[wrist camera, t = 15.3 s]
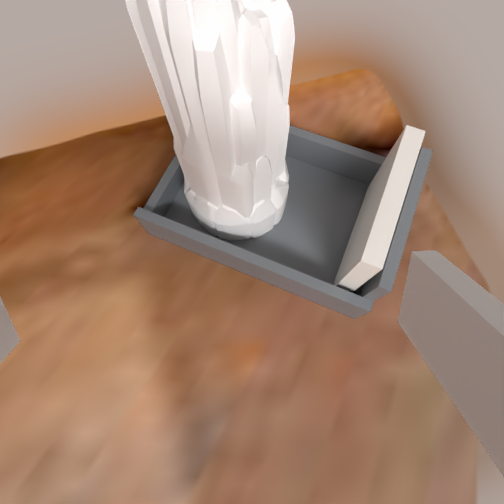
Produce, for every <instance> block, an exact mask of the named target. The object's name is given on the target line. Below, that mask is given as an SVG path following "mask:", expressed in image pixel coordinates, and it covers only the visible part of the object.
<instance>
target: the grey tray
mask: <svg viewBox="0 0 504 504" xmlns="http://www.w3.org/2000/svg"><path fill="white" fill-rule="evenodd" d="M432 153H433V150H430V149H427V148H424V147H422V148H421V149H420V150H419V154H418V157H417V160H416V163H415V166H414V170H413V173H412V176H411V179H410V182H409V186H408V189H407V192H406V195H405V198H404V202H403V205H402V208H401V211H400V214H399V218H398V221H397V224H396V227H395V230H394V234H393V237H392V240H391V243H390V246H389V250H388V253H387V256H386V259H385V262H384V266H383V269H382V270H381V271H379V272H378V273H377V274H376V275H374V276H373V277H372V278H370V279H369V280H368V281H366V282H365V283H364V284H362V285H361V286H360V287H359V288H357V289H356V290H355V291H353V292H349V291H347V290H344V289H342V288H339V287H337V286H334V285H333V284H334V281H335V278H336V275H337V272H338V270H339V267H340V264H341V261H342V258H343V256H344V253H345V250H346V247H347V245H348V242H349V239H350V236H351V233H352V231H353V228H354V225H355V222H356V219H357V217H358V214H359V211H360V208H361V205H362V203H363V200H364V197H365V194H366V191H367V189H368V186H369V185H370V183H371V181H372V180H373V178H374V177H375V175H376V173H377V172H378V170H379V169H380V167H381V165H382V164H383V162H384V161H385V159H386V157H383V156H380V155H377V154H374V153H371V152H368V151H365V150H362V149H359V148H356V147H353V146H350V145H347V144H344V143H341V142H338V141H335V140H332V139H329V138H326V137H323V136H320V135H317V134H314V133H311V132H308V131H306V130H303V129H300V128H297V127H294V126H291V125H290V126H289V133H288V141H287V148H286V156H285V160H286V164H287V169H288V174H289V181H288V184H289V189H288V195H287V201H286V206H285V209H284V212H283V215H282V218H281V220H280V221H279V223H278V224H275V225H274V226H273V229H271V230H270V231H268V232H266V233H265V234H263V235H261V236H259V237H256V238H252V237H251V238H250V239H244V240H227V239H220V238H219V237H218V236H214V235H213V234H211V233H210V232H209V231H207V230H206V229H205V228H203V227H202V226H201V225H200V224H199V222H198V221H197V219H196V218H195V216H194V215H193V213H192V210H191V208H190V206H189V203H188V201H187V199H186V196H185V193H184V174H183V171H182V169H181V166H180V163H179V161H178V158H177V155H175V156H174V158H173V160H172V161H171V163H170V165H169V166H168V168H167V170H166V171H165V173H164V175H163V176H162V178H161V180H160V181H159V183H158V185H157V186H156V188H155V190H154V191H153V193H152V195H151V196H150V198H149V200H148V201H147V203H146V205H145V206H144V208H140V207H138V208H137V210H136V211H135V213H134V217H135V218H136V219H137V220H138V221H139V223H140V224H141V225H142V226H143V228H144V229H145V230H146V231H147V232H148V234H150V235H153V236H155V237H158V238H160V239H162V240H165V241H167V242H170V243H172V244H175V245H177V246H179V247H182V248H184V249H187V250H189V251H191V252H194V253H196V254H199V255H201V256H203V257H206V258H208V259H211V260H213V261H216V262H218V263H220V264H223V265H225V266H228V267H230V268H232V269H235V270H237V271H240V272H242V273H245V274H247V275H249V276H252V277H254V278H257V279H259V280H261V281H264V282H266V283H269V284H271V285H273V286H276V287H278V288H281V289H283V290H286V291H288V292H290V293H293V294H295V295H298V296H300V297H302V298H305V299H307V300H310V301H312V302H315V303H317V304H319V305H322V306H324V307H327V308H329V309H331V310H334V311H336V312H339V313H341V314H343V315H346V316H348V317H351V318H353V319H356V318H358V317H360V316H363V315H365V314H367V313H369V312H370V311H371V308H372V305H373V302H374V301H375V300H377V299H379V298H381V297H382V296H384V295H386V294H388V293H390V292H391V291H392V287H393V284H394V281H395V277H396V274H397V271H398V267H399V264H400V260H401V257H402V254H403V250H404V247H405V244H406V240H407V237H408V233H409V230H410V227H411V223H412V220H413V217H414V213H415V210H416V206H417V203H418V200H419V196H420V193H421V190H422V186H423V183H424V180H425V176H426V173H427V169H428V165H429V163H430V159H431V156H432Z"/></svg>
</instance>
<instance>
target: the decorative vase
mask: <svg viewBox="0 0 504 504" xmlns="http://www.w3.org/2000/svg"><path fill="white" fill-rule="evenodd" d="M125 1H126V6H127V10H128V12H129V16H130V18H131V21H132V24H133V27H134V29H135V32H136V35H137V38H138V40H139V43H140V46H141V49H142V51H143V54H144V57H145V59H146V62H147V65H148V68H149V70H150V73H151V76H152V79H153V81H154V84H155V87H156V90H157V92H158V95H159V98H160V101H161V103H162V106H163V109H164V112H165V114H166V117H167V120H168V123H169V125H170V128H171V131H172V134H173V136H174V150H175V153H176V155H177V158H178V161H179V163H180V166H181V169H182V171H183V174H184V193H185V196H186V199H187V201H188V203H189V206H190V208H191V210H192V213H193V215H194V216H195V218H196V219H197V221H198V222H199V224H200V225H201V226H202V227H203V228H205V229H206V230H207V231H209V232H210V233H211V234H213V235H214V236H218V237H219V238H220V239H227V240H244V239H250V238H251V237H252V238H256V237H259V236H261V235H263V234H265V233H266V232H268V231H270V230H271V229H273V226H274V225H275V224H278V223H279V221H280V220H281V218H282V215H283V212H284V209H285V206H286V201H287V195H288V189H289V184H288V181H289V174H288V169H287V164H286V160H285V156H286V148H287V141H288V133H289V126H290V122H289V105H288V96H289V87H290V78H291V69H292V59H293V50H294V42H295V31H294V23H293V14H292V11H291V8H290V6H289V4H288V2H287V0H125Z"/></svg>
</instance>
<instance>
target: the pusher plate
mask: <svg viewBox="0 0 504 504" xmlns="http://www.w3.org/2000/svg"><path fill="white" fill-rule="evenodd" d="M424 134H425V131H423V130H420V129H417V128H414V127H411V126H408V125H407V126H406V127H405V129H404V130H403V132H402V133H401V135H400V137H399V138H398V140H397V141H396V143H395V145H394V146H393V148H392V149H391V151H390V153H389V154H388V156H387V157H386V159H385V161H384V162H383V164H382V165H381V167H380V169H379V170H378V172H377V173H376V175H375V177H374V178H373V180H372V181H371V183H370V185H369V186H368V189H367V191H366V194H365V197H364V200H363V203H362V205H361V208H360V211H359V214H358V217H357V219H356V222H355V225H354V228H353V231H352V233H351V236H350V239H349V242H348V245H347V247H346V250H345V253H344V256H343V258H342V261H341V264H340V267H339V270H338V272H337V275H336V278H335V281H334V284H333V285H334V286H337V287H339V288H342V289H344V290H347V291H349V292H353V291H355V290H356V289H357V288H359V287H360V286H361V285H362V284H364V283H365V282H366V281H368V280H369V279H370V278H372V277H373V276H374V275H376V274H377V273H378V272H379V271H381V270H382V269H383V266H384V262H385V259H386V256H387V253H388V250H389V246H390V243H391V240H392V237H393V234H394V230H395V227H396V224H397V221H398V218H399V214H400V211H401V208H402V205H403V202H404V198H405V195H406V192H407V189H408V186H409V182H410V179H411V176H412V173H413V170H414V166H415V163H416V160H417V157H418V154H419V150H420V147H421V144H422V141H423V138H424Z"/></svg>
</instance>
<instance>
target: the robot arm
mask: <svg viewBox="0 0 504 504" xmlns="http://www.w3.org/2000/svg"><path fill="white" fill-rule="evenodd" d="M398 323H399V325H400V326H401V328H402V329H403V331H404V332H405V333H406V335H407V336H408V338H409V339H410V341H411V342H412V344H413V345H414V347H415V348H416V349H417V351H418V352H419V354H420V355H421V357H422V358H423V360H424V361H425V363H426V364H427V365H428V367H429V368H430V370H431V371H432V373H433V374H434V376H435V377H436V379H437V380H438V381H439V383H440V384H441V386H442V387H443V389H444V390H445V392H446V393H447V395H448V396H449V397H450V399H451V400H452V402H453V403H454V405H455V406H456V408H457V409H458V411H459V412H460V413H461V415H462V416H463V418H464V419H465V421H466V422H467V424H468V425H469V427H470V428H471V430H472V431H473V432H474V434H475V435H476V437H477V438H478V440H479V441H480V443H481V444H482V445H483V447H484V448H485V450H486V451H487V453H488V454H489V456H490V457H491V459H492V460H493V461H494V463H495V464H496V466H497V467H498V469H499V470H500V472H501V473H502V474H503V476H504V304H502V303H501V302H500V301H499V300H497V299H496V298H495V297H494V296H492V295H491V294H490V293H489V292H487V291H486V290H485V289H484V288H482V287H481V286H480V285H479V284H478V283H476V282H475V281H474V280H473V279H471V278H470V277H469V276H468V275H466V274H465V273H464V272H463V271H461V270H460V269H459V268H458V267H456V266H455V265H454V264H453V263H451V262H450V261H449V260H448V259H446V258H445V257H444V256H443V255H441V254H440V253H439V252H438V251H436V250H434V251H412V254H411V259H410V264H409V269H408V274H407V279H406V284H405V289H404V294H403V299H402V304H401V309H400V314H399V319H398ZM19 342H20V339H19V337H18V334H17V332H16V330H15V328H14V326H13V323H12V321H11V319H10V317H9V314H8V312H7V310H6V308H5V306H4V303H3V301H2V299H1V297H0V363H1V362H2V361H3V360H4V359H5V358H6V357H7V356H8V354H9V353H10V352H11V351H12V350H13V349H14V348H15V347H16V345H17V344H18V343H19Z"/></svg>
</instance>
